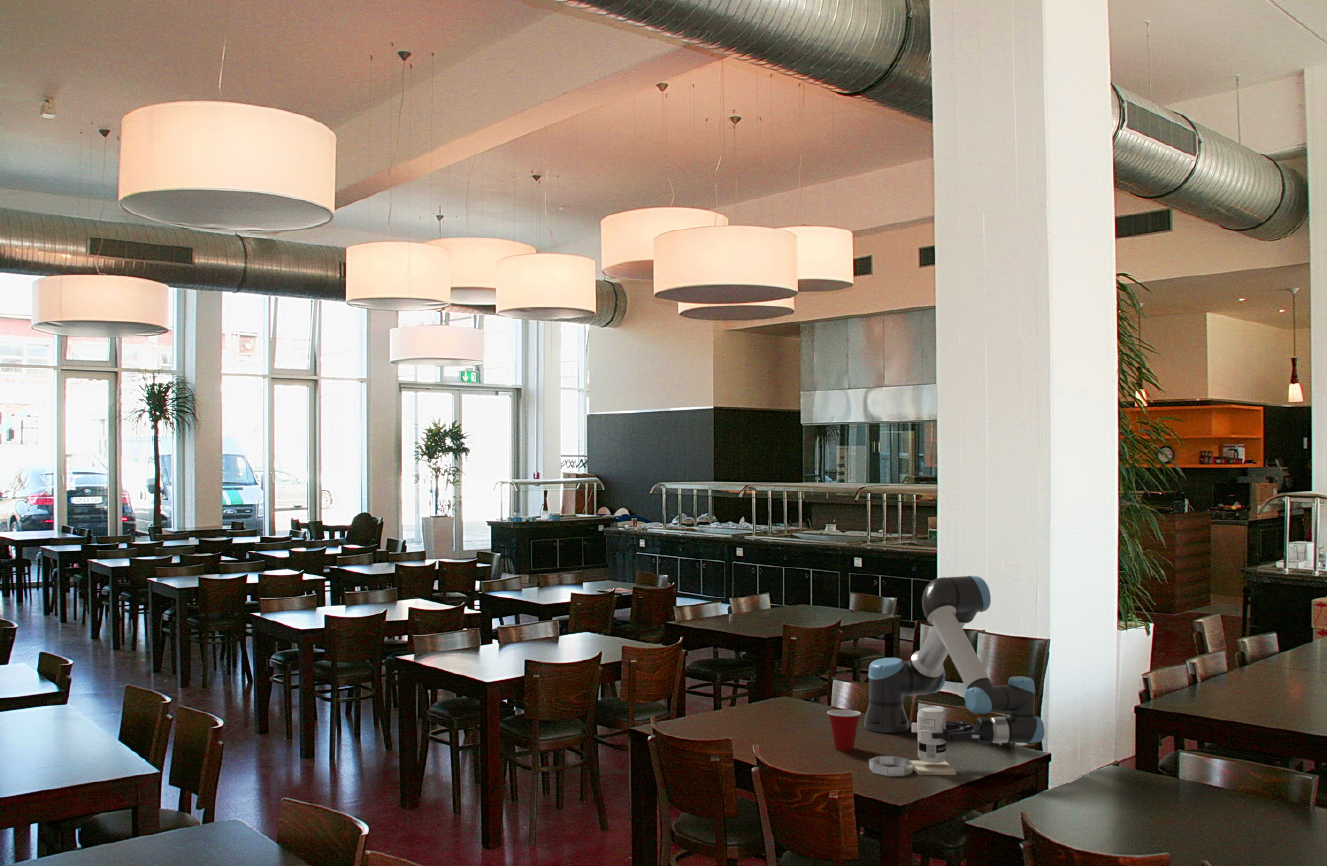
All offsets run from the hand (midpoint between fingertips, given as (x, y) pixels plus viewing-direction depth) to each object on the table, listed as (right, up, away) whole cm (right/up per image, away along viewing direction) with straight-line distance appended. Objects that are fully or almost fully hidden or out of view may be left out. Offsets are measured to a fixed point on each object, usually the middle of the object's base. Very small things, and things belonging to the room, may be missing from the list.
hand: (916, 731), depth 314 cm
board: (+5, -11, 0) cm, 12 cm away
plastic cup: (-18, -12, +23) cm, 32 cm away
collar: (-8, -11, -1) cm, 14 cm away
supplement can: (+5, -9, 0) cm, 10 cm away
